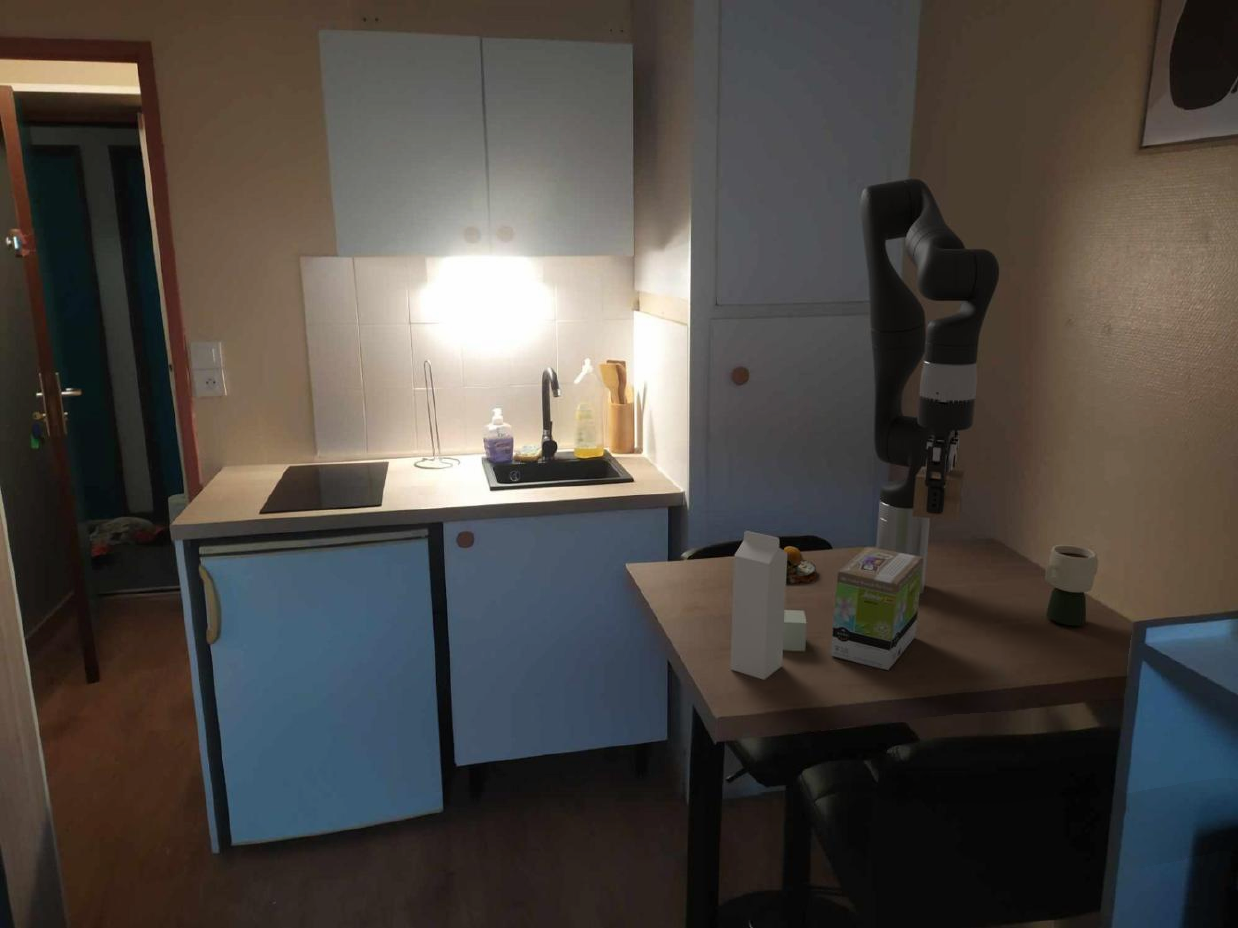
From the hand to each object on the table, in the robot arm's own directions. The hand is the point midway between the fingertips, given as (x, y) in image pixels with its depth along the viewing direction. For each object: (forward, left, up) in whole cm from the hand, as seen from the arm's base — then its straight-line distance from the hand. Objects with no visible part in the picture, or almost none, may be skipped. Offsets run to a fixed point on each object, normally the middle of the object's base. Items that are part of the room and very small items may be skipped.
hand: (937, 506), depth 137 cm
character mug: (-33, +19, -28) cm, 47 cm away
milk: (+8, -24, -28) cm, 37 cm away
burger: (-34, -31, -28) cm, 54 cm away
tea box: (-8, -9, -28) cm, 30 cm away
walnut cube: (0, 0, -1) cm, 1 cm away
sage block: (-3, -22, -27) cm, 35 cm away
